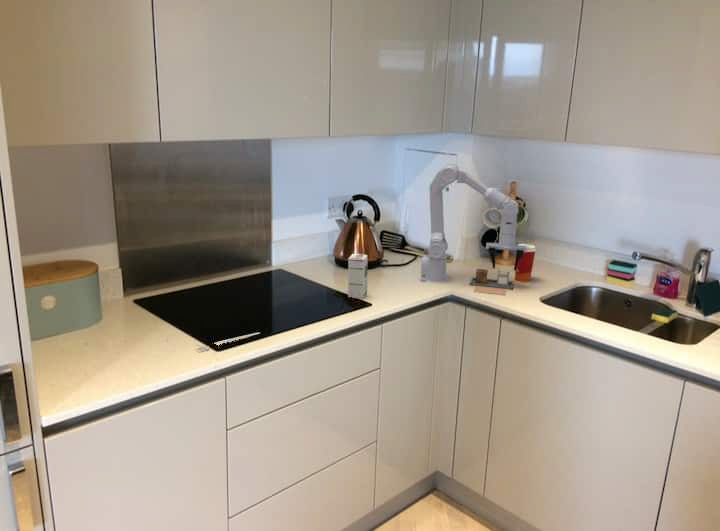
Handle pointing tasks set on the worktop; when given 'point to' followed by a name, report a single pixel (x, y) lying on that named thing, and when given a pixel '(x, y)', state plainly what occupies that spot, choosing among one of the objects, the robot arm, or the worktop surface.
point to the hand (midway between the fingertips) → (504, 268)
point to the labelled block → (503, 278)
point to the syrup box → (357, 275)
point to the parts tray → (492, 284)
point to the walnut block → (481, 276)
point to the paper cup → (525, 264)
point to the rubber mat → (490, 290)
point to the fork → (228, 340)
